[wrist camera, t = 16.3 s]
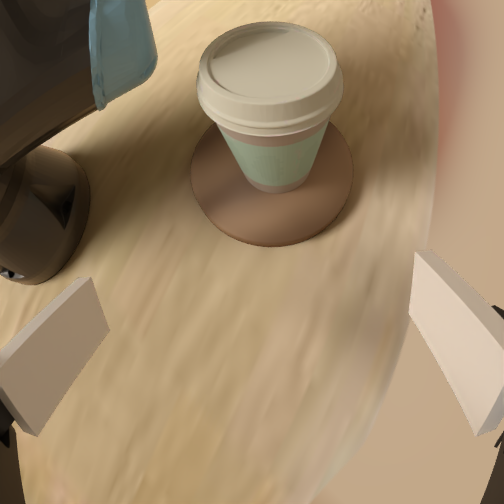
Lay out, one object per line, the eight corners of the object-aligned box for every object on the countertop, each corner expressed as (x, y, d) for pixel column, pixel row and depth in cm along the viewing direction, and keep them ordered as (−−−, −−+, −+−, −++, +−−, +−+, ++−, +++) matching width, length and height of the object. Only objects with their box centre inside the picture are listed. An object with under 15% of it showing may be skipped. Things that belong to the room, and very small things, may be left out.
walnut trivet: (166, 172, 29) (160, 165, 27) (274, 90, 30) (273, 81, 29) (267, 282, 25) (266, 279, 24) (380, 175, 26) (384, 167, 25)
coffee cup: (325, 125, 27) (339, 19, 15) (327, 212, 25) (356, 118, 13) (231, 123, 28) (203, 20, 16) (220, 207, 26) (173, 116, 14)
